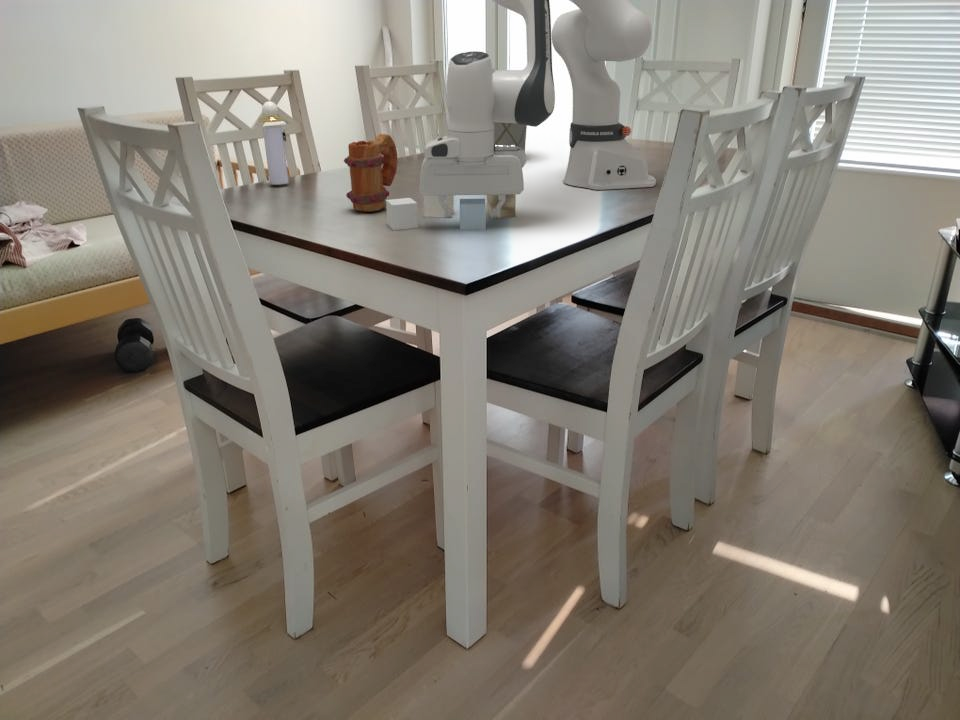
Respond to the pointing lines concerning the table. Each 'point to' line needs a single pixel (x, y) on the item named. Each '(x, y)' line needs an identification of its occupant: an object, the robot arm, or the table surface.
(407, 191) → the table surface
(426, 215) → the cream cube
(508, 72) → the robot arm
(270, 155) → the perfume bottle
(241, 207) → the table surface
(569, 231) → the table surface
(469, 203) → the pale blue cube
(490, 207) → the birch cube
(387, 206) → the grey cube
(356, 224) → the table surface
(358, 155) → the mug
